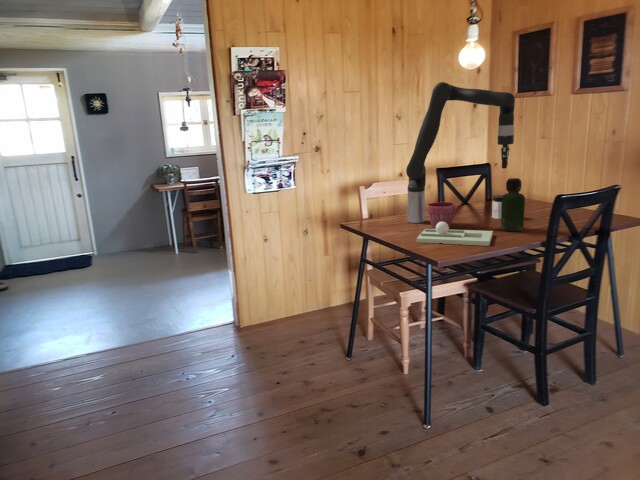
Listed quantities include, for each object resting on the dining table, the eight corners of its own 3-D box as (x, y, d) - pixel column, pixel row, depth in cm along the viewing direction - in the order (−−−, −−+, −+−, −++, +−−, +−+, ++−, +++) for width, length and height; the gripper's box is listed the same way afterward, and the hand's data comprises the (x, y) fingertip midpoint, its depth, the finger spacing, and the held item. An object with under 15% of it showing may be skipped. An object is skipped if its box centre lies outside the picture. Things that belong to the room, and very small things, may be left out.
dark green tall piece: (500, 231, 230) (502, 180, 224) (500, 227, 239) (502, 177, 233) (523, 232, 226) (526, 180, 220) (523, 227, 235) (525, 177, 229)
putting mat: (416, 242, 220) (416, 236, 219) (425, 232, 237) (425, 226, 237) (489, 245, 207) (489, 239, 206) (492, 235, 224) (492, 228, 224)
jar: (488, 217, 263) (489, 196, 260) (500, 215, 266) (500, 194, 263) (500, 219, 255) (501, 198, 252) (512, 218, 258) (513, 196, 255)
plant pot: (421, 228, 247) (421, 204, 244) (443, 224, 253) (443, 200, 250) (438, 233, 235) (438, 207, 232) (461, 229, 240) (461, 204, 237)
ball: (434, 235, 222) (434, 222, 221) (436, 232, 228) (436, 220, 226) (447, 235, 220) (447, 223, 219) (449, 232, 225) (449, 220, 224)
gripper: (498, 134, 242) (497, 166, 246) (496, 135, 230) (495, 169, 233) (514, 133, 239) (513, 165, 243) (513, 134, 226) (512, 168, 230)
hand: (504, 167), depth 238 cm, fingers open, 8 cm apart
